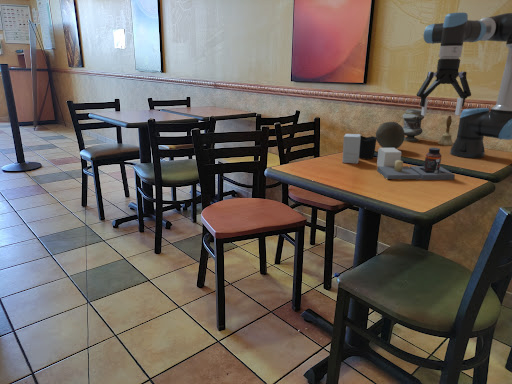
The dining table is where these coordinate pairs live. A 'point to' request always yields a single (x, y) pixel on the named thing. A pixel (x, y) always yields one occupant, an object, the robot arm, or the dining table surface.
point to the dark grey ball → (390, 135)
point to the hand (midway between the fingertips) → (440, 115)
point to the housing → (388, 156)
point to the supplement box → (351, 148)
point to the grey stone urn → (412, 124)
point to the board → (398, 171)
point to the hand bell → (447, 134)
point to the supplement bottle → (432, 161)
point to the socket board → (433, 174)
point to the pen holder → (367, 147)
